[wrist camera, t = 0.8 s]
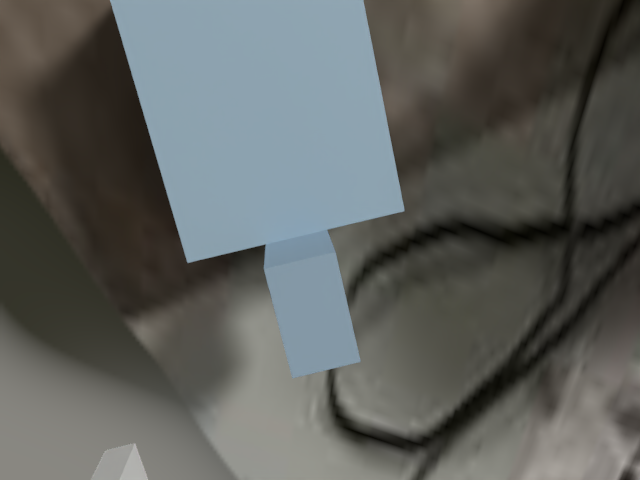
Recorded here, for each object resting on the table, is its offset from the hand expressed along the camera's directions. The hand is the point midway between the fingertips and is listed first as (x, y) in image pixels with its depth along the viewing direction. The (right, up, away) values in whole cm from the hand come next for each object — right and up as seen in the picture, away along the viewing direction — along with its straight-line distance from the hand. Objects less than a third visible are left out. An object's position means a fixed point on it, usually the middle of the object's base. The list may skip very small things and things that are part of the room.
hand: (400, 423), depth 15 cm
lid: (-4, +10, +14) cm, 18 cm away
